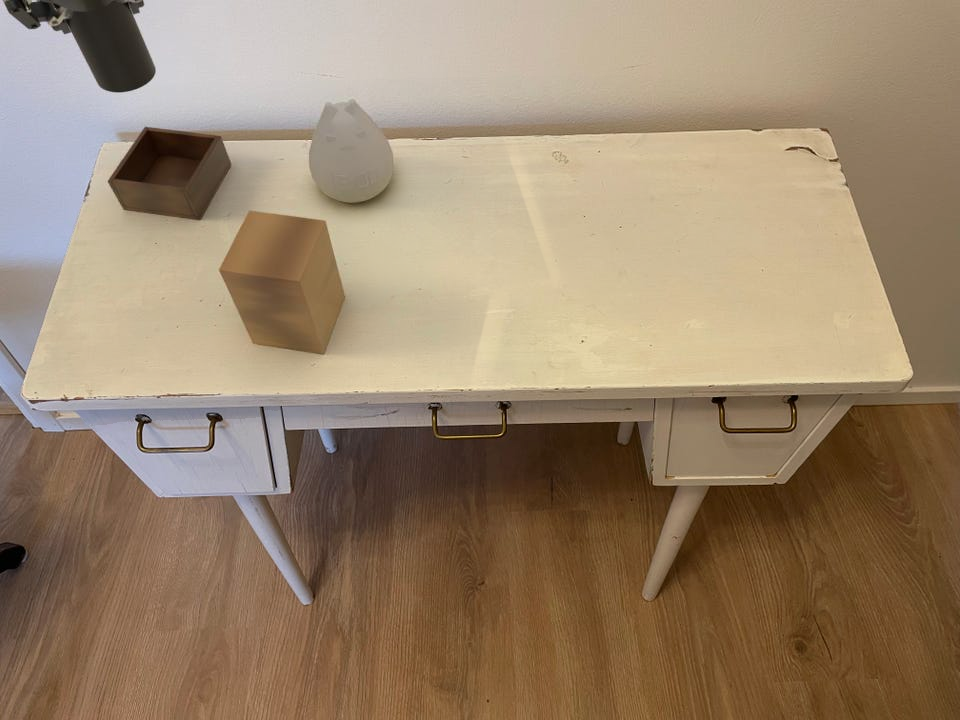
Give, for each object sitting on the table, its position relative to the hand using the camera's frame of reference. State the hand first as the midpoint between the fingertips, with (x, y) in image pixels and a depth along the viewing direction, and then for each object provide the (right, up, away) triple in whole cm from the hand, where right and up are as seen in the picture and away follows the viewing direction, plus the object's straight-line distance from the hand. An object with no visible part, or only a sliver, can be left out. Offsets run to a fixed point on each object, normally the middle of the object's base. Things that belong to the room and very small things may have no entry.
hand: (97, 13), depth 74 cm
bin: (+1, -14, +18) cm, 22 cm away
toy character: (+23, -13, +18) cm, 32 cm away
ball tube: (+1, -5, +4) cm, 6 cm away
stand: (+19, -31, +6) cm, 37 cm away
